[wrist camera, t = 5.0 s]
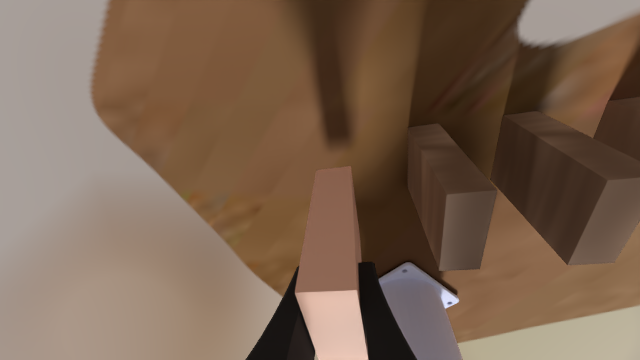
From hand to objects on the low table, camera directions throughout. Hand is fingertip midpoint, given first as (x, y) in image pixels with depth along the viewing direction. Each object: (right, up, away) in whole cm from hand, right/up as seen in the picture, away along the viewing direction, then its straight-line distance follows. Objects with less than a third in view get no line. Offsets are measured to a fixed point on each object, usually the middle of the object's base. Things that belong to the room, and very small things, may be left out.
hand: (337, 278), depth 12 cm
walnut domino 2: (+13, +7, +7) cm, 16 cm away
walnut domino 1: (+7, +6, +8) cm, 12 cm away
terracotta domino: (0, +3, +5) cm, 6 cm away
